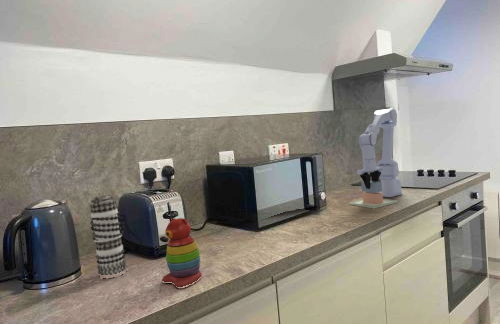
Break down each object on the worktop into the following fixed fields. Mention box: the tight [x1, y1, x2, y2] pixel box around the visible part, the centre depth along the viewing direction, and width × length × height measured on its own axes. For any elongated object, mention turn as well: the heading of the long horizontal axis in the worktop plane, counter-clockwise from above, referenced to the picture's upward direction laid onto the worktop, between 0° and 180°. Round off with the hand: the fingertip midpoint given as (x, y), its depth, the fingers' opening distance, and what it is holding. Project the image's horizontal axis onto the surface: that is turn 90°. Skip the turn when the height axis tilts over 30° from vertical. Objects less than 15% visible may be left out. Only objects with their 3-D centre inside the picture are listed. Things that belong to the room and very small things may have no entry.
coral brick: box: [361, 191, 384, 204], centre depth 177 cm, size 4×9×4 cm, turn 26°
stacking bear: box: [161, 217, 203, 287], centre depth 106 cm, size 11×10×18 cm
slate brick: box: [360, 180, 382, 193], centre depth 177 cm, size 4×9×4 cm, turn 26°
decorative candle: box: [88, 194, 128, 275], centre depth 118 cm, size 9×9×25 cm
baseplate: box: [348, 198, 399, 209], centre depth 177 cm, size 15×16×1 cm
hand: (371, 187), depth 177 cm, fingers closed on slate brick, 4 cm apart
